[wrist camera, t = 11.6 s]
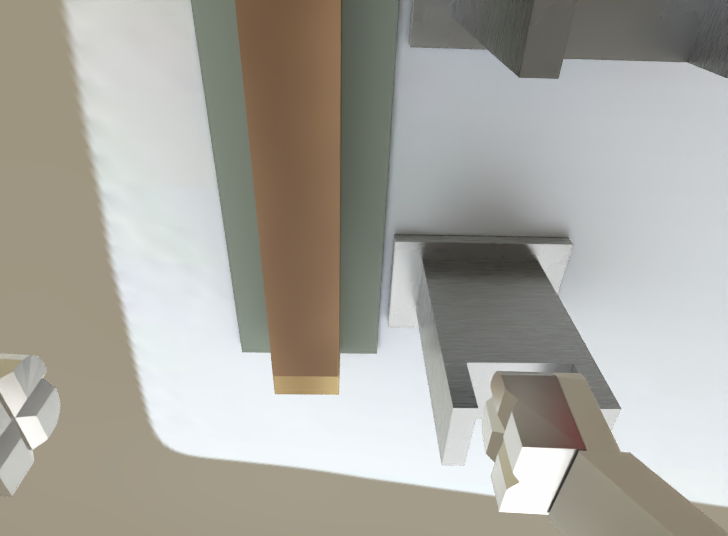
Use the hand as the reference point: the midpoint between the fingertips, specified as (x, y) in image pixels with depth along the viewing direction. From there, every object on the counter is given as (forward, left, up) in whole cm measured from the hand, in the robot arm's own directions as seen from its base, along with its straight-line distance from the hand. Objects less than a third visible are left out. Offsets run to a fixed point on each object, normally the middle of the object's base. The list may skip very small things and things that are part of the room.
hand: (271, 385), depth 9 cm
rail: (0, 0, -13) cm, 13 cm away
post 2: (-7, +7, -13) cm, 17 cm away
